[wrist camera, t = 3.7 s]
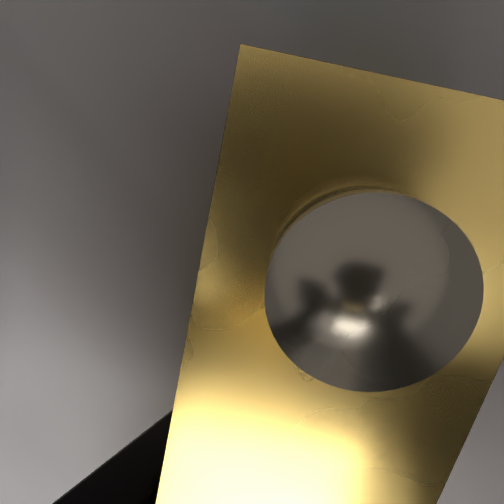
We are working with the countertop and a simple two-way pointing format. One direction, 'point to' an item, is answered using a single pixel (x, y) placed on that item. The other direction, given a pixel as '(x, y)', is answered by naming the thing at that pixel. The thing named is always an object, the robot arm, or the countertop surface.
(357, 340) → the link
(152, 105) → the countertop surface
